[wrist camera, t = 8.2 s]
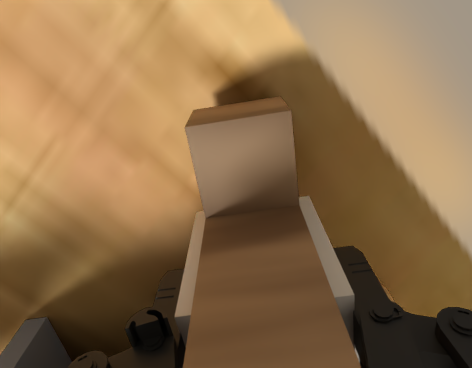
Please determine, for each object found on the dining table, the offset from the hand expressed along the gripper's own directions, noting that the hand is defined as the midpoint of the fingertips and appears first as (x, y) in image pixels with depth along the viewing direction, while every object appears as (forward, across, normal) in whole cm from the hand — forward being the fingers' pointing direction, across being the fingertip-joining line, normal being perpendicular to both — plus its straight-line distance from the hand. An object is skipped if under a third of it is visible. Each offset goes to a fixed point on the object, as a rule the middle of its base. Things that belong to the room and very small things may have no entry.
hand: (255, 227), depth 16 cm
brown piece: (+1, 0, -5) cm, 5 cm away
